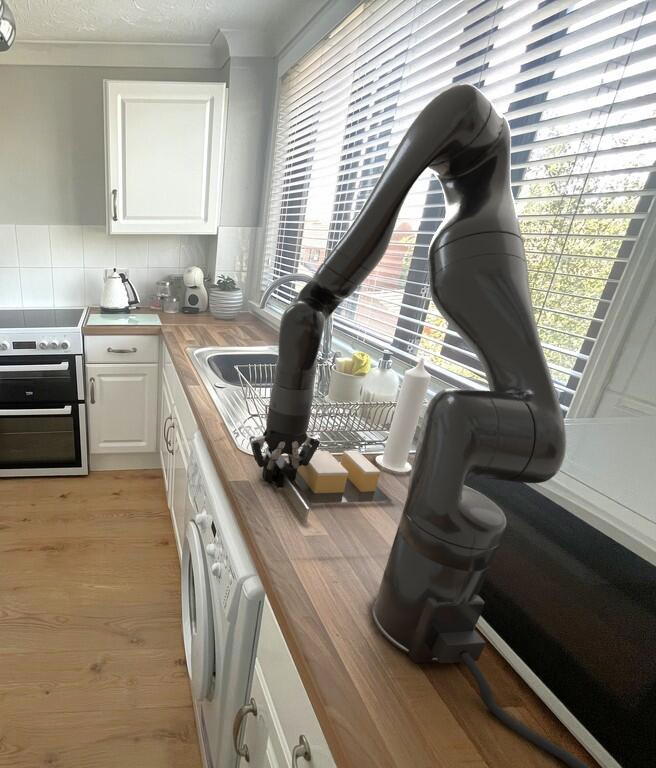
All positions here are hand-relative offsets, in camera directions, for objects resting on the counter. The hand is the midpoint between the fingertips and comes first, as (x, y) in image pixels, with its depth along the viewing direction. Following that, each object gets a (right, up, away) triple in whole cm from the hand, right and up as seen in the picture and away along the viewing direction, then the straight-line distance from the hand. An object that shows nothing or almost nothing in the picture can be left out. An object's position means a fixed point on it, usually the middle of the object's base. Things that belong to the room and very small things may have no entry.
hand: (277, 481), depth 84 cm
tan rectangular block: (+8, 0, -1) cm, 8 cm away
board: (+11, -1, 0) cm, 11 cm away
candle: (+28, +2, +7) cm, 29 cm away
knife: (0, -2, -5) cm, 5 cm away
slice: (+16, 0, 0) cm, 16 cm away
